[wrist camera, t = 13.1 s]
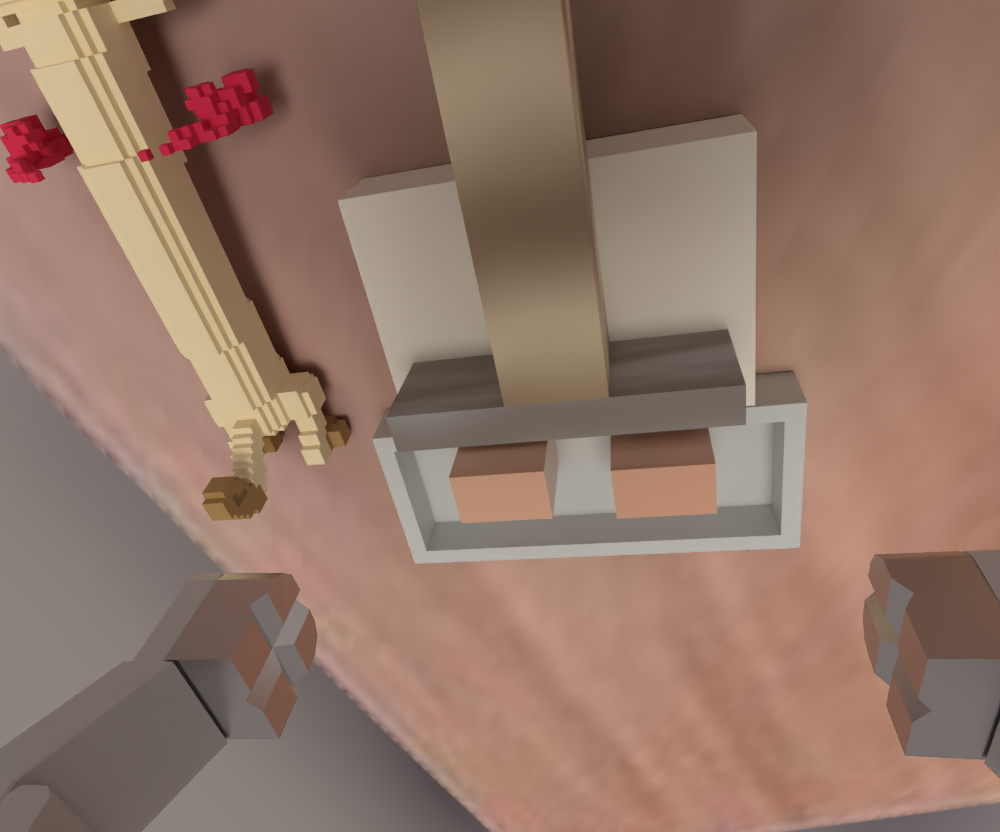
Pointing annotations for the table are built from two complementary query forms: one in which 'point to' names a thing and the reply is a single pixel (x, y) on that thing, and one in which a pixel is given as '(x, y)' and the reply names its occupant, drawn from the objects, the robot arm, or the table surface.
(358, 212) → the board
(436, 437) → the scraper
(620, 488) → the tile
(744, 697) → the table surface
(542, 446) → the tile
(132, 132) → the beige long curved piece
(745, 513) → the tray
